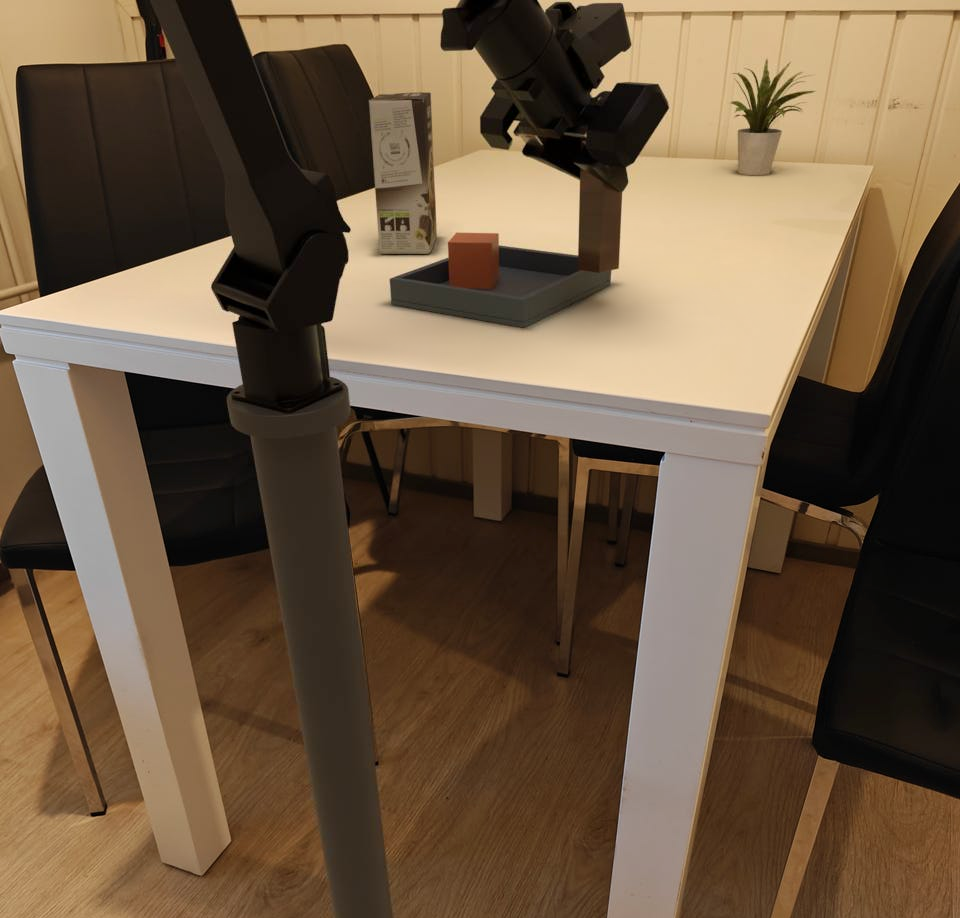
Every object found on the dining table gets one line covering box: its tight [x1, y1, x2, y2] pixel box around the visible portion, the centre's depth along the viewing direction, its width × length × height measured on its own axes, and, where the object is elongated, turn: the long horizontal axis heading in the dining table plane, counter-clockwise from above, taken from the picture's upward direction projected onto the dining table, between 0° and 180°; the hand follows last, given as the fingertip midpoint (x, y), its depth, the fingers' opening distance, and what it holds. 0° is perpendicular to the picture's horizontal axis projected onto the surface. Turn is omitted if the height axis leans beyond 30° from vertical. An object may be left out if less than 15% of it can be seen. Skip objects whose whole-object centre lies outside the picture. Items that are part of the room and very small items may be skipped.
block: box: [447, 232, 500, 289], centre depth 94 cm, size 4×4×4 cm
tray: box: [389, 244, 612, 328], centre depth 93 cm, size 18×16×2 cm
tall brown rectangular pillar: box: [577, 137, 623, 273], centre depth 84 cm, size 3×3×14 cm
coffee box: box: [368, 91, 438, 255], centre depth 107 cm, size 9×6×16 cm
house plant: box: [729, 58, 816, 176], centre depth 147 cm, size 14×14×16 cm
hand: (612, 185), depth 84 cm, fingers closed on tall brown rectangular pillar, 3 cm apart
